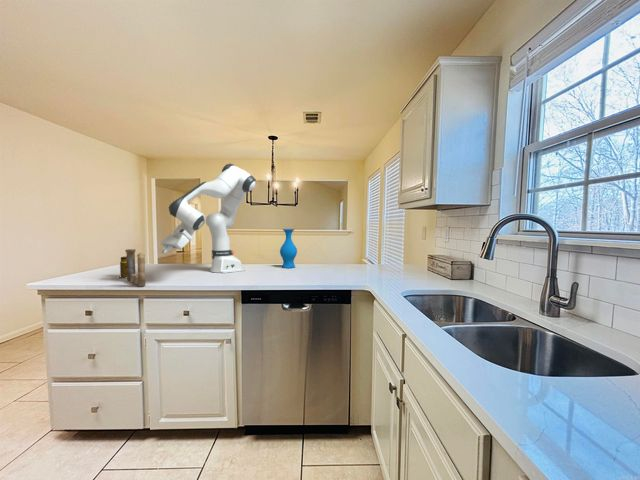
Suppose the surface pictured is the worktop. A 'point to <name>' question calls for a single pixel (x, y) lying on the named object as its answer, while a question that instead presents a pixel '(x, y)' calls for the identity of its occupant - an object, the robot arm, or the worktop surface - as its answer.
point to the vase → (288, 250)
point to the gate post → (132, 254)
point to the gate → (140, 277)
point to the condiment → (123, 267)
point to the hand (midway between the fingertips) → (163, 252)
